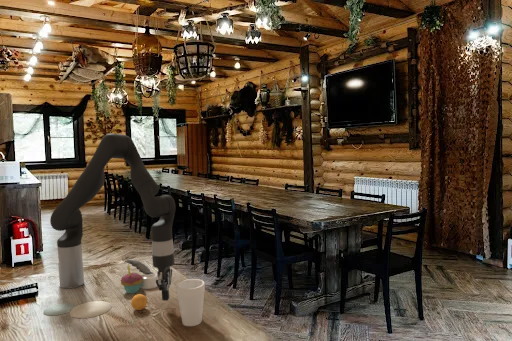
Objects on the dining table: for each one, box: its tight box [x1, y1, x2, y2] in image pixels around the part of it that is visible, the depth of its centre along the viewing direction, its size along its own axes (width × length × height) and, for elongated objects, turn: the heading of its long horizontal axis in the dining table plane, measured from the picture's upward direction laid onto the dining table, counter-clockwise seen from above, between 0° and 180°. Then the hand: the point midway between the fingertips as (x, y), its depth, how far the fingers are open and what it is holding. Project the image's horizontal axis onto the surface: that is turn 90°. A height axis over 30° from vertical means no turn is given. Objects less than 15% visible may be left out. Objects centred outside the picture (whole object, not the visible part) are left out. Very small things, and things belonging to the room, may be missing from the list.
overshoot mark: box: [43, 302, 75, 317], centre depth 152 cm, size 10×10×1 cm
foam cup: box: [175, 278, 206, 327], centre depth 138 cm, size 10×9×13 cm
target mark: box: [69, 300, 112, 319], centre depth 151 cm, size 14×14×1 cm
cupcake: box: [120, 264, 143, 294], centre depth 167 cm, size 9×8×12 cm
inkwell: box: [124, 258, 158, 290], centre depth 175 cm, size 9×18×10 cm, turn 67°
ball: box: [130, 293, 148, 311], centre depth 149 cm, size 6×6×6 cm
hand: (165, 299), depth 149 cm, fingers closed
